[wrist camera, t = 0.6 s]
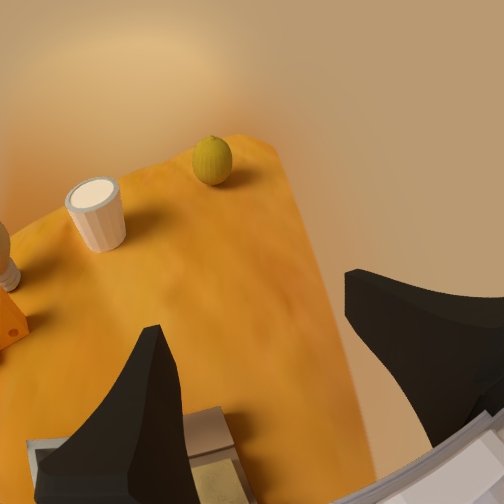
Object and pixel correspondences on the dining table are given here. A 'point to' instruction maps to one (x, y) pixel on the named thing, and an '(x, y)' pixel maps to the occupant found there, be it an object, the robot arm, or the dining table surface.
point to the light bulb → (7, 263)
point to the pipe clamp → (11, 321)
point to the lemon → (212, 160)
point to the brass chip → (218, 483)
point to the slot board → (213, 443)
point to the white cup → (98, 213)
